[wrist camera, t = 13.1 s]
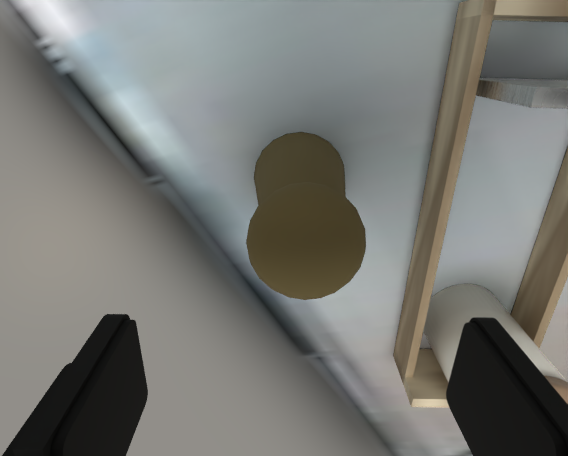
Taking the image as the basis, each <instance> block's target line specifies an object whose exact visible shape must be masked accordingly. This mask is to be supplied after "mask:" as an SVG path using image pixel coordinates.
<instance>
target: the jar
mask: <svg viewBox="0 0 568 456" xmlns="http://www.w3.org/2000/svg"><path fill="white" fill-rule="evenodd" d="M474 317H489V318H495V319H496V320H498V322H499V323H500V324H501V325H502V326H503V328H504V329H505V330H506V331H507V332H508V333H509V335H510V336H511V337H512V338H513V339H514V341H515V342H516V343H517V344H518V345H519V347H520V348H521V349H522V350H523V351H524V353H525V354H526V355H527V356H528V357H529V359H530V360H531V361H532V362H533V363H534V365H535V366H536V367H537V368H538V369H539V371H540V372H541V373H542V374H543V375H544V376H545V378H546V379H547V380H548V381H549V382H550V384H551V385H552V386H553V387H554V388H555V390H556V391H557V392H558V393H559V394H560V396H561V397H562V398H563V399H564V400H565V402H566V403H567V404H568V382H567V381H566V379H565V378H564V377H563V376H562V375H561V374H560V372H559V371H558V370H557V369H556V368H555V367H554V365H553V364H552V363H551V362H550V361H549V359H548V358H547V357H546V356H545V355H544V354H543V352H542V351H541V350H540V349H539V348H538V347H537V345H536V344H535V343H534V342H533V341H532V339H531V338H530V337H529V336H528V335H527V334H526V332H525V331H524V330H523V329H522V328H521V327H520V325H519V324H518V323H517V322H516V321H515V320H514V318H513V317H512V316H511V315H510V314H509V312H508V311H507V310H506V309H505V308H504V307H503V305H502V304H501V303H500V302H499V301H498V300H497V298H496V297H495V296H494V295H493V294H492V293H491V292H490V291H489V290H487V289H486V288H484V287H482V286H479V285H474V284H459V285H454V286H451V287H448V288H445V289H443V290H441V291H440V292H438V293H437V294H435V295H434V296H433V297H432V298H431V299H430V303H429V307H428V312H427V316H426V321H425V325H424V330H423V332H424V334H425V336H426V338H427V340H428V342H429V344H430V346H431V348H432V350H433V352H434V354H435V356H436V358H437V360H438V362H439V364H440V366H441V368H442V371H443V373H444V375H445V377H446V379H447V381H448V382H449V379H450V375H451V371H452V367H453V364H454V360H455V356H456V352H457V349H458V345H459V341H460V337H461V334H462V330H463V326H464V324H465V323H467V322H469V321H470V319H471V318H474Z"/></svg>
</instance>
